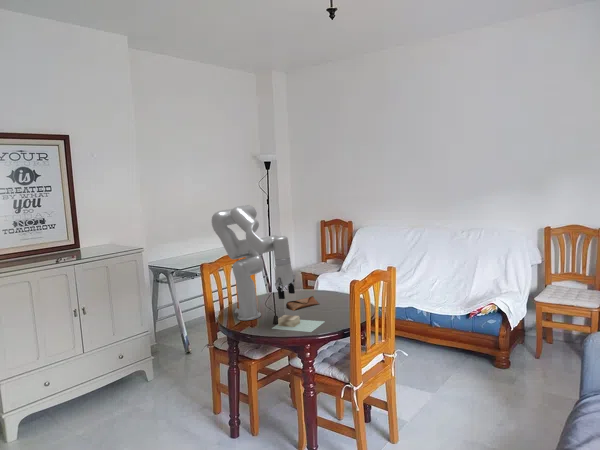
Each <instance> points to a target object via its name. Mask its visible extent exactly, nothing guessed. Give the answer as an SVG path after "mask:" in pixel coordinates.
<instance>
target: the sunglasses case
mask: <svg viewBox="0 0 600 450" xmlns="http://www.w3.org/2000/svg"><path fill="white" fill-rule="evenodd" d="M318 305H319V306H320V303H319V302H318V301H317V299H316V298H315V297H314V295H313V296H308V297H306V298H305V297H304V298H301V299H296V300H290V301H288V302H287V303H286V305H285V309H287V310H290V311H293V312H294V311H297V310H301V309H305V308H311V307H313V306H314V307H315V306H318Z"/></svg>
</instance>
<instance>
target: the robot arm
mask: <svg viewBox="0 0 600 450" xmlns="http://www.w3.org/2000/svg"><path fill="white" fill-rule="evenodd" d="M256 218H257V209H256V207H254V205H250V204H246V205H240V206H235V207H233V208H230V209H224V210H223V209H222V210H219V211H217V212H214V213H213V215H212V217H211V226H212V229H213V232H215V235H217V237H218V238H219V239H220V242H221V244H222V246H223V247H224V250H225V252H226V254H227V256H228V257H229V259H231V260H237V261H235V262H234V263H233V264H232V272H233V276H234V280H235V284H236V291H237V300H238V307H239V308H238V307H237V308H235V310H234V314H238V315H237V320H238V321H251V320H255V319H256V320H257V319H259V318H260V317H261V316H262V313H261V312H260V311H258V302H257V295H256V285H255V282H254V280H253V279H252V277H251V276H252V275H256V274H259V273H261V272H262V271H263V270H264V268H265V267H264V266H265V265H264V261H263V259H262V257H261V255H260V254H266V253H269V252H273V255H274V263H275V266H274V278H275V279H274V280H275V283H274V286H275V288H276V291H277V293H278V294H277V295H278V299H279V300H285V299H286V296H285V290H284V288H285V287H286V286H287V290H288V294H291V295H292V294H295V293H296V291H295V280H296V279H295V277H296V275H294V272H293V267H292V261H291V254H290V246H289V238H288V237H287V236H285V235H283V236H282V235H281V236H280V235H279V236H278V235H269V236H268V235H267V236H264V237H259V236H258V235H256V234H255V233H256V232H257V230H258V229H259V227H260V222H259V221H258V220H257V219H256ZM232 225H237V226H238V227H239V228H240V229H241V230H243V231H244V233H245V238H244V239H241V240H240V239H239V238H238V237H237V235H236V233H235V232H234V230H233V229H231V228H230V227H228V226H232Z"/></svg>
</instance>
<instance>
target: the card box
mask: <svg viewBox="0 0 600 450" xmlns="http://www.w3.org/2000/svg"><path fill="white" fill-rule="evenodd" d="M300 320H301V317H300V315H290V314H283V315H281V316H280V317H279V318H277V322H278V324H277V325H279V326H288V327H295V326H297V325H298V324H299V323H300Z"/></svg>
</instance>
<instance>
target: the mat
mask: <svg viewBox="0 0 600 450" xmlns="http://www.w3.org/2000/svg"><path fill="white" fill-rule="evenodd" d="M324 323H326V322H325V321H324V320H309V319H300V323H299V324H298V325H297V326H295V327H288V326H279V325H278V324H276V325H275V326H273V327H271V329H272V330H281V331H282V330H283V331H293V332H294V331H295V332H303V333H304V332H305V333H306V332H307V333H312V332H313V331H315V330H316V329H317V328H319V327H320V326H321V325H323V324H324Z"/></svg>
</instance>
